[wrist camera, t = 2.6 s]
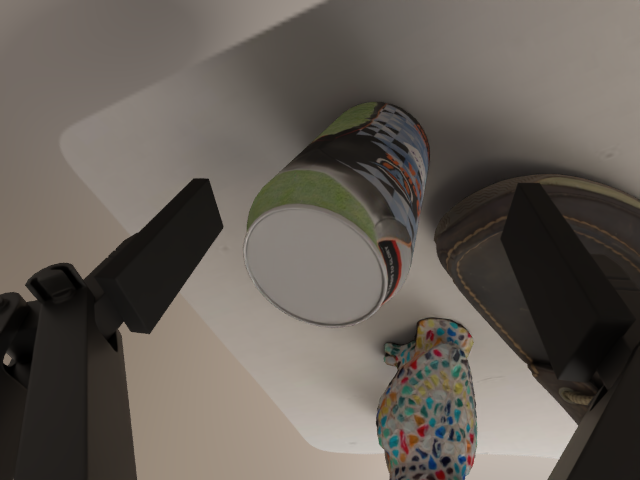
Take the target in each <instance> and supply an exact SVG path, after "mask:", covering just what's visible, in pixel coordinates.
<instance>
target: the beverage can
mask: <svg viewBox="0 0 640 480" xmlns="http://www.w3.org/2000/svg"><path fill="white" fill-rule="evenodd" d="M429 161H430V147H429V143H428V139H427V136H426V134H425V132H424V130H423V128H422V127H421V125H420V124H419V123H418V121H417V120H416V119H415V118H414V117H413V116H412V115H411V114H410V113H408V112H407V111H405V110H403V109H402V108H400V107H397V106H395V105H392V104H388V103H383V102H369V103H363V104H360V105H357V106H355V107H352V108H350V109H349V110H347V111H346V112H344V113H343V114H342V115H341V116H340V117H339V118H337V119H336V120H335V121H334V122H333V123H332V124H331V125H330V126H329V127H328V128H327V129H326V130H324V131H323V132H322V133H321V134H320V135H319V136H318V137H317V138H316V139H315V140H314V141H313V142H312V143H310V144H309V145H308V146H307V147H306V148H305V149H304V150H303V151H302V152H301V153H300V154H299V155H297V156H296V157H295V158H294V159H293V160H292V161H291V162H290V163H289V164H288V165H287V166H286V167H285V168H283V169H282V170H281V171H280V172H279V173H278V174H277V175H276V176H275V177H274V178H273V179H272V180H271V181H269V182H268V183H267V184H266V185H265V186H264V187H263V188H262V189H261V191H260V192H259V193H258V195H257V196H256V198H255V199H254V201H253V204H252V206H251V209H250V211H249V216H248V222H247V234H246V236H245V239H244V245H243V257H244V262H245V266H246V269H247V271H248V274H249V276H250V278H251V280H252V281H253V283H254V285H255V286H256V287H257V289H258V290H259V291H260V292H261V294H262V295H263V296H264V297H265V298H266V299H267V300H268V301H269V302H270V303H271V304H273V305H274V306H275V307H277V308H278V309H279V310H281V311H282V312H284V313H286V314H287V315H289V316H291V317H293V318H295V319H297V320H299V321H302V322H305V323H308V324H311V325H316V326H320V327H330V328H338V327H347V326H352V325H355V324H358V323H361V322H363V321H365V320H366V319H368V318H369V317H371V316H372V315H373V314H374V313H375V312H376V311H377V310H378V309H379V307H380V306H381V305H383V304H384V303H386V302H388V301H389V300H390V299H391V298H392V297H393V296H394V295H395V294H396V293H397V292H398V291H399V290H400V288H401V287H402V285H403V283H404V282H405V280H406V278H407V275H408V273H409V270H410V267H411V262H412V257H413V251H414V245H415V240H416V234H417V229H418V223H419V218H420V212H421V207H422V201H423V196H424V190H425V185H426V179H427V174H428V168H429Z"/></svg>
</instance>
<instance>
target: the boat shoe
mask: <svg viewBox="0 0 640 480" xmlns="http://www.w3.org/2000/svg"><path fill="white" fill-rule="evenodd" d="M518 183H540V184H541V186H542V187H543V188H544V190H545V191H546V193H547V194H548V195H549V197H550V198H551V200H552V201H553V202H554V204H555V205H556V207H557V208H558V209H559V211H560V212H561V214H562V215H563V217H564V218H565V219H566V221H567V222H568V224H569V225H570V226H571V228H572V229H573V231H574V232H575V233H576V235H577V236H578V238H579V239H580V240H581V242H582V243H583V245H584V246H585V248H586V249H587V250H588V252H589V253H590V254H605V255H607V256H608V257H609V258H611V259H612V260H614V261H615V262H617V263H618V264H619V265H621V266H622V267H623V269H624V270H625V271H626V273H627V274H628V275H629V276H630V278H631V281H634V283H635V284H636V285H637V286H638V288H639V291H640V200H638V199H637V198H635V197H633V196H631V195H629V194H627V193H625V192H623V191H620V190H618V189H615V188H612V187H610V186H607V185H604V184H601V183H597V182H594V181H591V180H587V179H583V178H578V177H573V176H567V175H557V174H543V175H529V176H522V177H516V178H511V179H507V180H503V181H500V182H497V183H495V184H492V185H490V186H487V187H485V188H483V189H481V190H479V191H477V192H475V193H473V194H472V195H470V196H468V197H467V198H465V199H464V200H462V201H461V202H459V203H458V204H457V205H455V206H454V207H453V208H452V209H451V210H450V211H449V212H447V213H446V214H445V215H444V216H443V218H442V219H441V220H440V222H439V224H438V226H437V228H436V232H435V236H434V241H435V243H436V250H437V255H438V258H439V260H440V263H441V264H442V266H443V267H444V269H445V270H446V271H447V273H448V274H449V275H450V277H451V278H452V279H453V282H454V284H455V285H456V286H457V287H458V289H459V290H460V292H461V293H462V294H463V295H464V296H465V297H466V299H467V300H468V301H469V302H470V303H471V304H472V305H473V307H474V308H475V309H476V310H477V311H478V312H479V313H480V314H481V316H482V317H483V318H484V319H485V320H486V321H487V322H488V323H489V325H490V326H491V327H492V328H493V329H494V330H495V331H496V332H497V333H498V334H499V336H500V337H501V338H502V339H503V340H504V341H505V342H506V343H507V344H508V345H509V347H510V348H511V349H512V350H513V351H514V352H515V353H516V354H517V355H518V356H519V357H520V358H521V359H522V360H523V361H524V362H525V363H527V364H528V368H529V369H530V371H531V372H532V375H533V376H534V377H535V378H536V380H537V381H538V382H539V383H540V384H541V385H542V386H543V387H544V388H545V389H546V390H547V391H548V392H549V393H550V394H551V395H552V396H553V397H554V398H555V400H556V401H557V402H558V403H559V404H560V405H561V406H562V407H563V408H564V409H565V410H566V412H567V413H568V414H569V415H570V416H571V417H572V419H573V420H574V421H575V422H576V423H577V424H578V426H579V424H580V422H581V421H582V419H583V417H584V415H585V414H586V412H587V410H588V409H589V407H590V406H589V405H588V403H589V402H590V401H591V399H592V398H593V397H594V396H595V395H596V393H597V392H598V391H599V390H600V389H601V387H602V386H603V385H604V384H603V382H602V380H601V378H600V376H599V374H598V372H597V371H596V372H595V374H594V375H593V376H592V378H591V379H590V380H589V382H588V383H584V382H575V381H566V380H557V378H556V375H555V373H554V371H553V368H552V366H551V363H550V361H549V358H548V356H547V353H546V351H545V348H544V346H543V343H542V341H541V338H540V336H539V333H538V331H537V329H536V326H535V324H534V321H533V319H532V316H531V314H530V311H529V309H528V306H527V304H526V301H525V299H524V296H523V294H522V291H521V289H520V286H519V284H518V282H517V279H516V277H515V274H514V272H513V269H512V267H511V264H510V262H509V259H508V257H507V254H506V252H505V249H504V247H503V244H502V242H501V239H500V238H501V235H502V232H503V228H504V225H505V222H506V219H507V216H508V213H509V209H510V206H511V203H512V200H513V197H514V193H515V190H516V187H517V184H518Z"/></svg>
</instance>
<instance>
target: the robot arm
mask: <svg viewBox="0 0 640 480" xmlns="http://www.w3.org/2000/svg"><path fill="white" fill-rule="evenodd" d="M223 228H224V227H223V223H222V220H221V217H220V214H219V210H218V207H217V204H216V201H215V198H214V194H213V191H212V188H211V185H210V181H209V179H193V180H192V181H191V182H190V183H189V184H188V185H187V186H186V187H185V188H183V189H182V190H181V191H180V192H179V193H178V194H177V195H176V196H175V197H174V198H173V199H172V200H171V201H170V202H169V203H168V204H167V205H166V206H165V207H164V208H163V209H162V210H161V211H160V212H159V213H158V214H157V215H156V216H155V217H154V218H153V219H152V220H151V221H150V222H149V223H148V224H147V225H146V226H145V227H144V228H143V229H142V230H141V231H140V232H139V233H136V234H134V235H133V236H131V237H129V238H128V239H126V240H124V241H123V242H122V243H121V244H120V245H119V246H118V247H117V248H116V251H113V252H112V253H111V254H110V255H109V257H108V258H106V259H105V260H104V261H103V262H102V263H101V264H100V265H98V266H97V267H96V268H95V269H94V270H93V271H92V272H91V273H90V274H89V275H88V276H87V277H86V278H85V279H84V280H83V279H82V278H81V276H80V275H79V274H78V272H77V271H76V269H75V268H74V266H73V265H72V264H69V263H59V264H54V265H51V266H48V267H47V268H44V269H42V270H40V271H39V272H37V273H35V274H34V275H33V276H32V277H31V278H30V279H28V281H27V283H26V285H25V286H26V287H27V288H28V289H29V290H30V292H31V293H32V294H33V295H34V296H35V297H36V298H37V300H36V301H30V302H26V301H25V300H24V299H23V298H22V297H21V295H20V294H19V293H14V292H10V293H4V294H1V295H0V480H13V478H14V480H137V475H136V465H135V456H134V446H133V437H132V429H131V418H130V409H129V400H128V391H127V381H126V372H125V363H124V354H123V345H122V336H121V333H120V332H119V330H118V328H119V327H120V325H121V324H122V323H123V322H125V324H126V325H127V327H128V328H129V330H130V331H131V332H137V333H145V334H150V333H151V331H152V330H153V328H154V327H155V326H156V324H157V323H158V321H159V320H160V318H161V317H162V315H163V314H164V313H165V311H166V310H167V308H168V307H169V305H170V304H171V302H172V301H173V300H174V298H175V297H176V295H177V294H178V292H179V291H180V290H181V288H182V287H183V285H184V284H185V282H186V281H187V279H188V278H189V277H190V275H191V274H192V272H193V271H194V269H195V268H196V266H197V265H198V264H199V262H200V261H201V259H202V258H203V256H204V255H205V253H206V252H207V251H208V249H209V248H210V246H211V245H212V243H213V242H214V240H215V239H216V238H217V236H218V235H219V233H220V232H221V230H222V229H223ZM500 239H501V242H502V244H503V247H504V249H505V252H506V254H507V257H508V259H509V262H510V264H511V267H512V269H513V272H514V274H515V277H516V279H517V282H518V284H519V286H520V289H521V291H522V294H523V296H524V299H525V301H526V304H527V306H528V309H529V311H530V314H531V316H532V319H533V321H534V324H535V326H536V329H537V331H538V333H539V336H540V338H541V341H542V343H543V346H544V348H545V351H546V353H547V356H548V358H549V361H550V363H551V366H552V368H553V371H554V373H555V375H556V378H557V380H566V381H575V382H584V383H588V382H589V380H590V379H591V378H592V376H593V375H594V374H595V372H596V371H597V372H598V374H599V376H600V378H601V380H602V382H603V384H604V385H603V386H602V387H601V389H600V390H599V391H598V392H597V393H596V395H595V396H594V397H593V398H592V399H591V401H590V402H589V403H588V405H589V406H590V407H589V409H588V410H587V412H586V414H585V415H584V417H583V419H582V421H581V422H580V424H579V426H578V428H577V429H576V431H575V433H574V434H573V436H572V438H571V440H570V441H569V443H568V445H567V447H566V448H565V450H564V452H563V454H562V455H561V457H560V459H559V460H558V462H557V464H556V466H555V467H554V469H553V471H552V473H551V475H550V476H549V478H548V480H640V291H639V288H638V286H637V285H636V284H635V283H634V281H631V278H630V276H629V275H628V274H627V273H626V271H625V270H624V269H623V267H622V266H621V265H619V264H618V263H617V262H615V261H614V260H612V259H611V258H609V257H608V256H607V255H605V254H590V253H589V252H588V250H587V249H586V248H585V246H584V245H583V243H582V242H581V240H580V239H579V238H578V236H577V235H576V233H575V232H574V231H573V229H572V228H571V226H570V225H569V224H568V222H567V221H566V219H565V218H564V217H563V215H562V214H561V212H560V211H559V209H558V208H557V207H556V205H555V204H554V202H553V201H552V200H551V198H550V197H549V195H548V194H547V193H546V191H545V190H544V188H543V187H542V186H541V184H540V183H518V184H517V187H516V190H515V193H514V197H513V200H512V203H511V206H510V209H509V213H508V216H507V219H506V222H505V225H504V228H503V232H502V235H501V238H500ZM6 353H7V354H8V355H9V356H10V357H11V358H12V360H11V362H10V364H9V365H8V366H7V365H5V364H4V363H3V359H4V355H5V354H6Z"/></svg>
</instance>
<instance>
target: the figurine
mask: <svg viewBox="0 0 640 480" xmlns="http://www.w3.org/2000/svg"><path fill="white" fill-rule="evenodd" d="M473 343H474V342H473V339H472V336H471V335H470V333H468V332H467V330H466V329H465V328H464V327H463V326H461V325H459V324H457V323H455V322H453V321H451V320H444V319H435V318H429V319H425V320H421V321H419V322H418V323H417V333H416V335H415V340H414V341H412V342H410V343H409V344H406V345H403V346H398V345H396V344H393V343H386V344H385V346H384V349H385V352H387V353H386V354H385V356H384V362H385V363H386V364H387V365H391V366H396V367H397V369H398V371H397V373H396V375H395V377H394V378H393V379H392V381H391V382H390V383H389V385H388V387H387V389H386V390H385V392H384V393H383V395H382V396H381V398H380V402H379V406H378V408H377V409H378V413H377V417H376V425H377V435H378V439H379V444H380V446H381V447H382V448H383V449H384V450H385V451H386V457H387V461H388V464H389V472H390V480H465V476H466V475H468V474H469V472H470V470H471V468H472V466H473V463H474V458H475V452H476V447H477V422H476V418H477V416H476V410H475V408H476V402H475V399H474V398H475V395H474V389H473V383H472V376H471V371H470V367H469V364H468V360H467V357H468V355H469V352H470V350H471V347H472V345H473Z"/></svg>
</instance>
